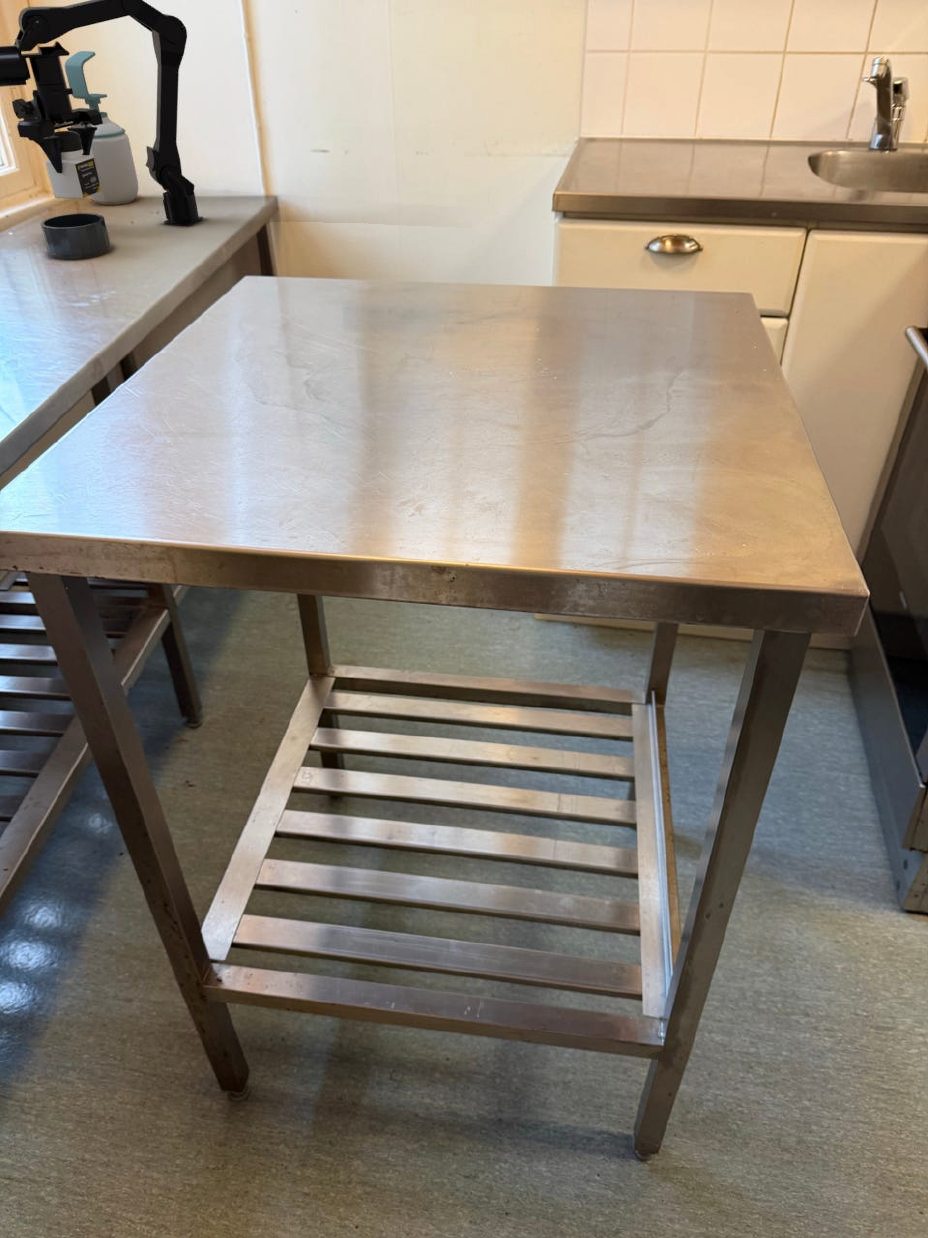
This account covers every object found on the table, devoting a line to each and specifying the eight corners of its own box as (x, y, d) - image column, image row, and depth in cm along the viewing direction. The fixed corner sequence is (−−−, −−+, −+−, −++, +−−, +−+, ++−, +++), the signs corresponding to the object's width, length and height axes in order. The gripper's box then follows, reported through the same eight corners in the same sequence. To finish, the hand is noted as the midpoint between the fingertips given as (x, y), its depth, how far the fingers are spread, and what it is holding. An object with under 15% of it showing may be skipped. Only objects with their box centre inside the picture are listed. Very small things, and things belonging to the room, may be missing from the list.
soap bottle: (152, 197, 223) (121, 50, 204) (116, 208, 214) (80, 55, 195) (115, 193, 227) (81, 48, 208) (78, 203, 219) (40, 53, 200)
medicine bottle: (84, 199, 187) (68, 135, 180) (54, 198, 189) (37, 134, 181) (102, 191, 193) (87, 129, 186) (73, 190, 194) (57, 128, 187)
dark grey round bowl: (123, 245, 188) (116, 215, 184) (85, 261, 179) (77, 230, 175) (76, 241, 191) (68, 211, 188) (36, 256, 182) (27, 225, 179)
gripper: (51, 76, 188) (72, 158, 197) (-16, 87, 174) (10, 175, 183) (94, 77, 184) (113, 161, 194) (29, 89, 170) (53, 179, 180)
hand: (72, 169), depth 188 cm, fingers closed on medicine bottle, 7 cm apart
